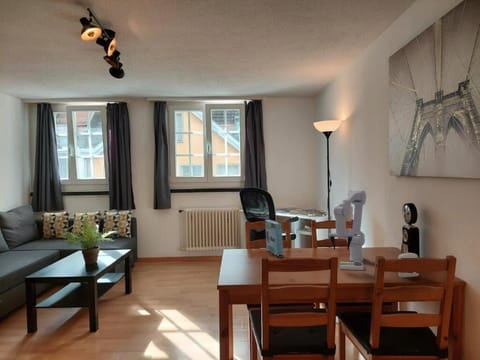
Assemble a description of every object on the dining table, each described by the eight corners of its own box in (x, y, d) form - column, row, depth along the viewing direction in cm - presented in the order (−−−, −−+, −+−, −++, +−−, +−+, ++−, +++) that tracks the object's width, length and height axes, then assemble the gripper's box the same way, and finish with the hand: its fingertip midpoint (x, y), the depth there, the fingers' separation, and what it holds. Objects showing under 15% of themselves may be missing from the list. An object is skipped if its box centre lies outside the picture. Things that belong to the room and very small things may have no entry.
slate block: (354, 266, 200) (353, 260, 199) (361, 267, 198) (360, 260, 198) (354, 268, 196) (354, 262, 196) (361, 269, 195) (361, 262, 194)
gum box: (283, 256, 231) (281, 223, 231) (276, 257, 230) (275, 223, 229) (272, 250, 250) (271, 219, 249) (266, 250, 248) (264, 220, 248)
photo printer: (401, 278, 176) (400, 254, 175) (397, 275, 180) (396, 252, 180) (420, 276, 177) (419, 253, 176) (415, 274, 181) (414, 251, 181)
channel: (340, 265, 204) (339, 261, 204) (362, 265, 200) (362, 262, 200) (339, 269, 196) (339, 265, 196) (363, 270, 192) (363, 266, 192)
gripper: (327, 227, 197) (328, 250, 197) (354, 227, 193) (354, 251, 192) (328, 225, 203) (328, 248, 203) (353, 226, 199) (354, 249, 199)
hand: (341, 249), depth 198 cm, fingers open, 7 cm apart
